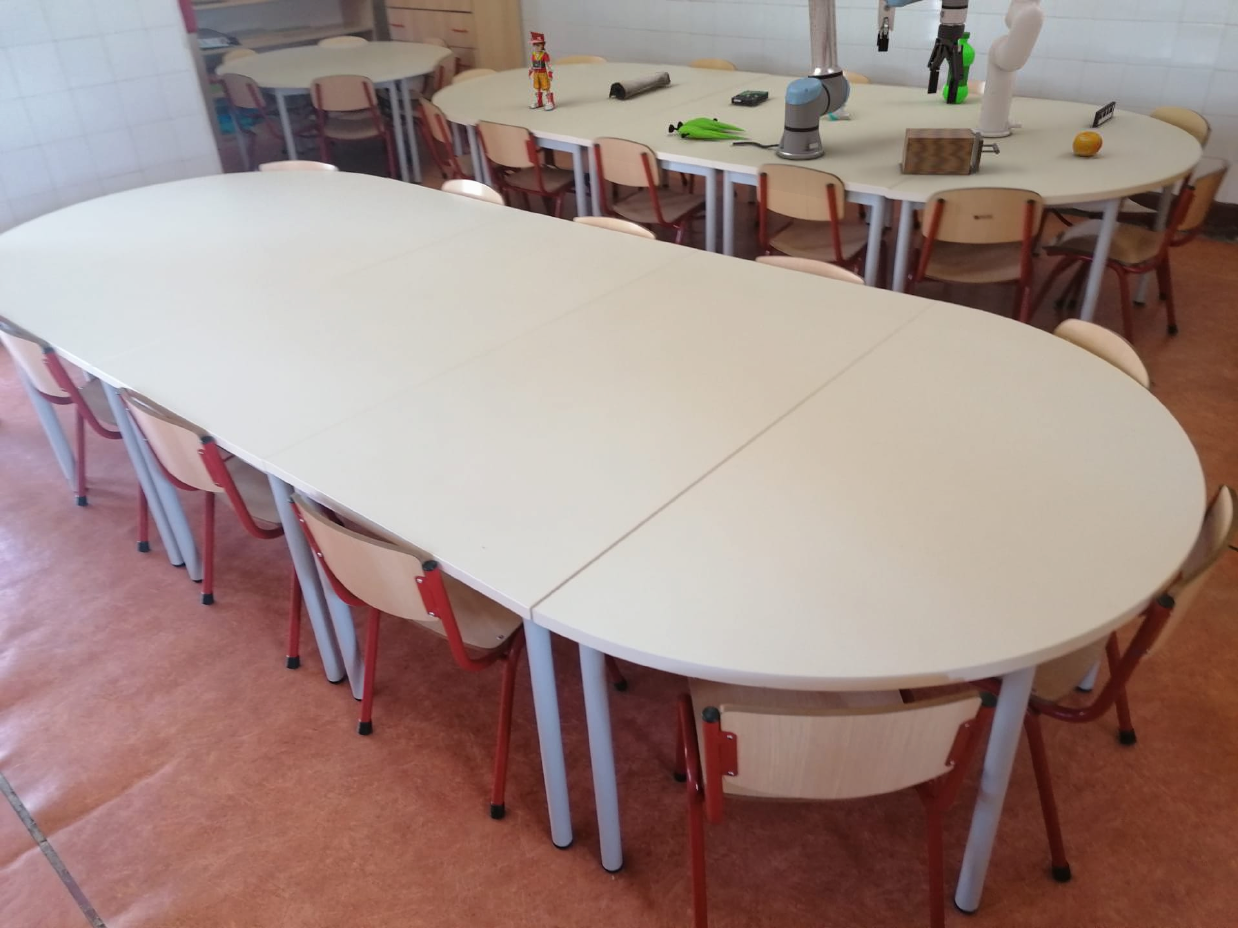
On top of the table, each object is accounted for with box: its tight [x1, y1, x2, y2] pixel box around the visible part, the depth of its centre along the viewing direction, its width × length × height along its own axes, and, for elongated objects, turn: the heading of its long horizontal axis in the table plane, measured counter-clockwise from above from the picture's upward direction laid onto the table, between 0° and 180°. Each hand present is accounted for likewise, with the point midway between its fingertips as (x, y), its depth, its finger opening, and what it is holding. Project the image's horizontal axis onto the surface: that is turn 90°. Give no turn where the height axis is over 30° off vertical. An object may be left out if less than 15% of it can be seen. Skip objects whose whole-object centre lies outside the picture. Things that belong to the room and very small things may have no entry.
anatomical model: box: [827, 103, 851, 121], centre depth 345 cm, size 15×10×10 cm
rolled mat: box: [608, 71, 672, 101], centre depth 395 cm, size 30×9×10 cm
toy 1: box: [527, 31, 556, 111], centre depth 374 cm, size 12×9×30 cm
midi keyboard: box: [1092, 101, 1117, 128], centre depth 320 cm, size 18×1×5 cm, turn 138°
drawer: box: [970, 132, 1001, 172], centre depth 283 cm, size 24×10×9 cm, turn 78°
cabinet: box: [901, 127, 975, 175], centre depth 285 cm, size 20×11×11 cm, turn 78°
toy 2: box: [667, 117, 749, 140], centre depth 332 cm, size 28×5×30 cm
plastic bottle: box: [942, 31, 976, 104], centre depth 348 cm, size 10×10×25 cm
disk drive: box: [730, 89, 770, 107], centre depth 372 cm, size 10×3×15 cm
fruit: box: [1072, 131, 1103, 157], centre depth 289 cm, size 8×8×8 cm
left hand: (941, 98), depth 280 cm, fingers open, 13 cm apart
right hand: (882, 48), depth 304 cm, fingers open, 9 cm apart
